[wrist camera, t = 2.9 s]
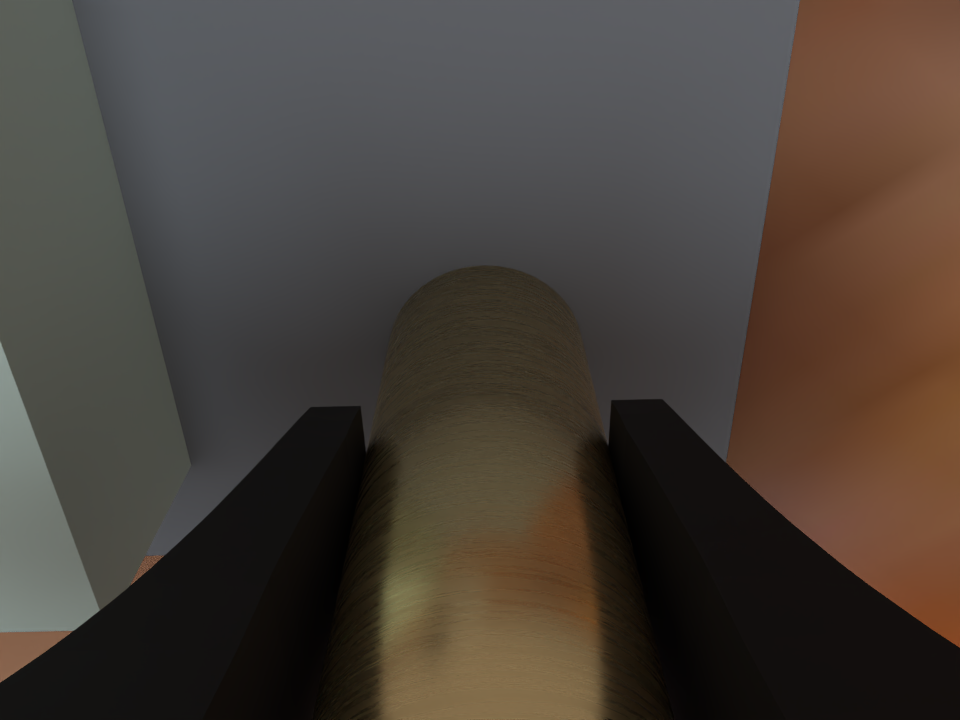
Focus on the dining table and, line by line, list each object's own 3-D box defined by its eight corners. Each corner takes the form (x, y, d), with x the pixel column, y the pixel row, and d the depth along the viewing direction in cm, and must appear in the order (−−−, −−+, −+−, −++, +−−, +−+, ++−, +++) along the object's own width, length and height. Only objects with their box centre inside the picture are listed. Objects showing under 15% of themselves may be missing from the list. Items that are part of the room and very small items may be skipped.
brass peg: (578, 431, 13) (781, 1482, 4) (396, 436, 13) (237, 1485, 4) (586, 263, 12) (919, 1344, 3) (380, 267, 12) (90, 1349, 3)
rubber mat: (706, 524, 15) (712, 543, 14) (-362, 547, 15) (-388, 566, 14) (895, -730, 7) (923, -773, 7) (-1245, -652, 7) (-1350, -686, 7)
